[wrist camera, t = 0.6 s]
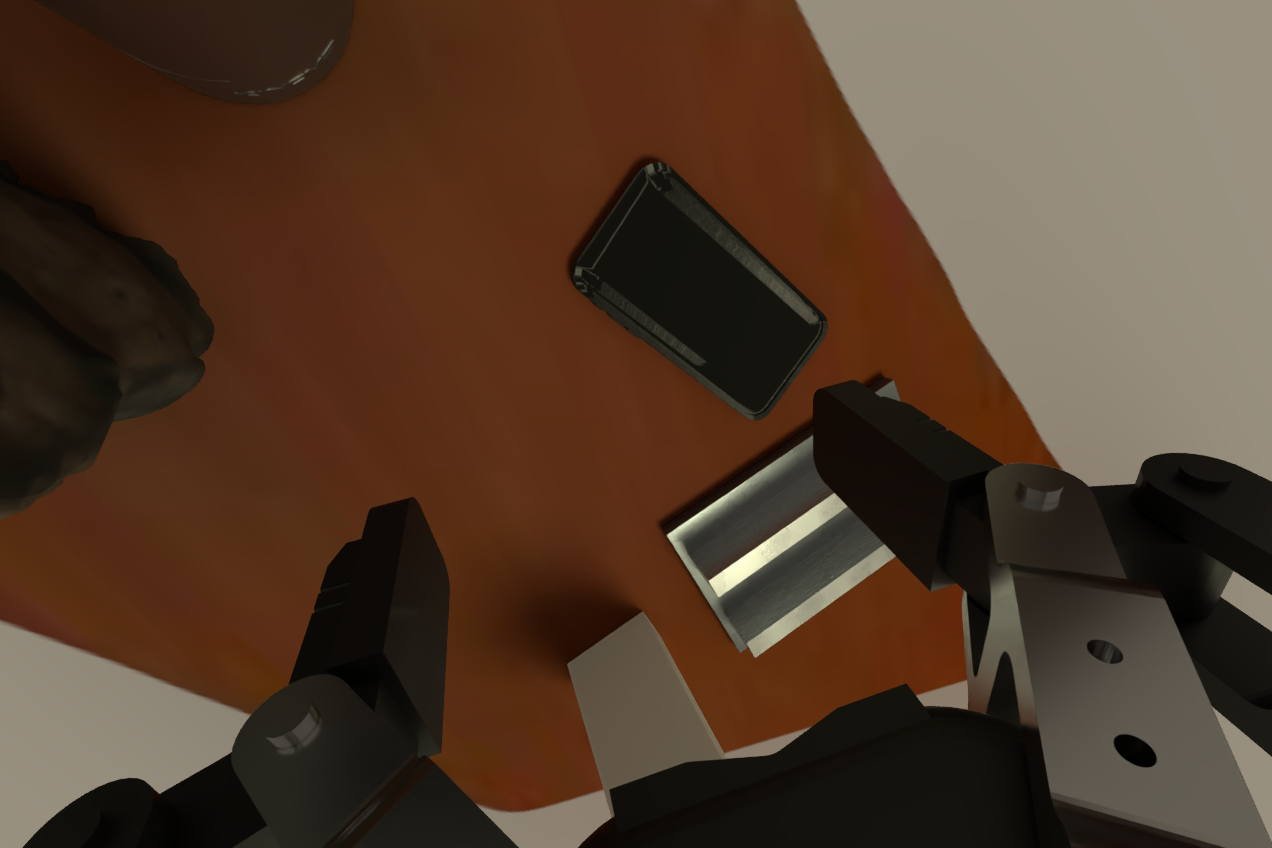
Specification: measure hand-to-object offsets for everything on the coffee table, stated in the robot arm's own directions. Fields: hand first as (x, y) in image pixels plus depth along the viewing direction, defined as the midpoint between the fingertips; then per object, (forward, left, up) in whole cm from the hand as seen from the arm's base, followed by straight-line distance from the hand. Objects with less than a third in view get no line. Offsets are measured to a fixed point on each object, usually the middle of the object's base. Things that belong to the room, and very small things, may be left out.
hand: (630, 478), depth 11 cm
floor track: (+22, +10, -20) cm, 31 cm away
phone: (+5, +10, -21) cm, 24 cm away
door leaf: (+22, -6, -20) cm, 30 cm away
